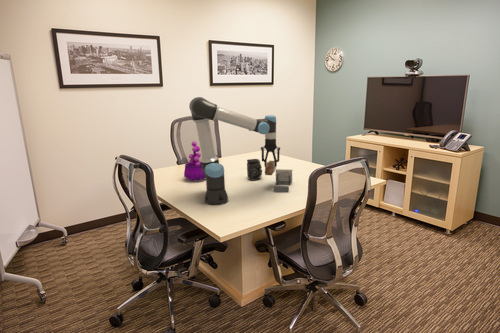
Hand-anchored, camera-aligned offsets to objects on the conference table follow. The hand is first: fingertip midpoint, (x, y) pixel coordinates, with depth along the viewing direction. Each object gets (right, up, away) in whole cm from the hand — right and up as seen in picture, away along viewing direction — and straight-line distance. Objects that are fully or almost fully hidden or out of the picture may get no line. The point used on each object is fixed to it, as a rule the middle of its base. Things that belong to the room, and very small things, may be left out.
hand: (270, 171), depth 230 cm
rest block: (+7, -13, -5) cm, 16 cm away
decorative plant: (-56, -7, +26) cm, 62 cm away
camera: (-11, -6, +23) cm, 26 cm away
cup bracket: (+10, -9, +9) cm, 16 cm away
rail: (0, 0, 0) cm, 1 cm away
